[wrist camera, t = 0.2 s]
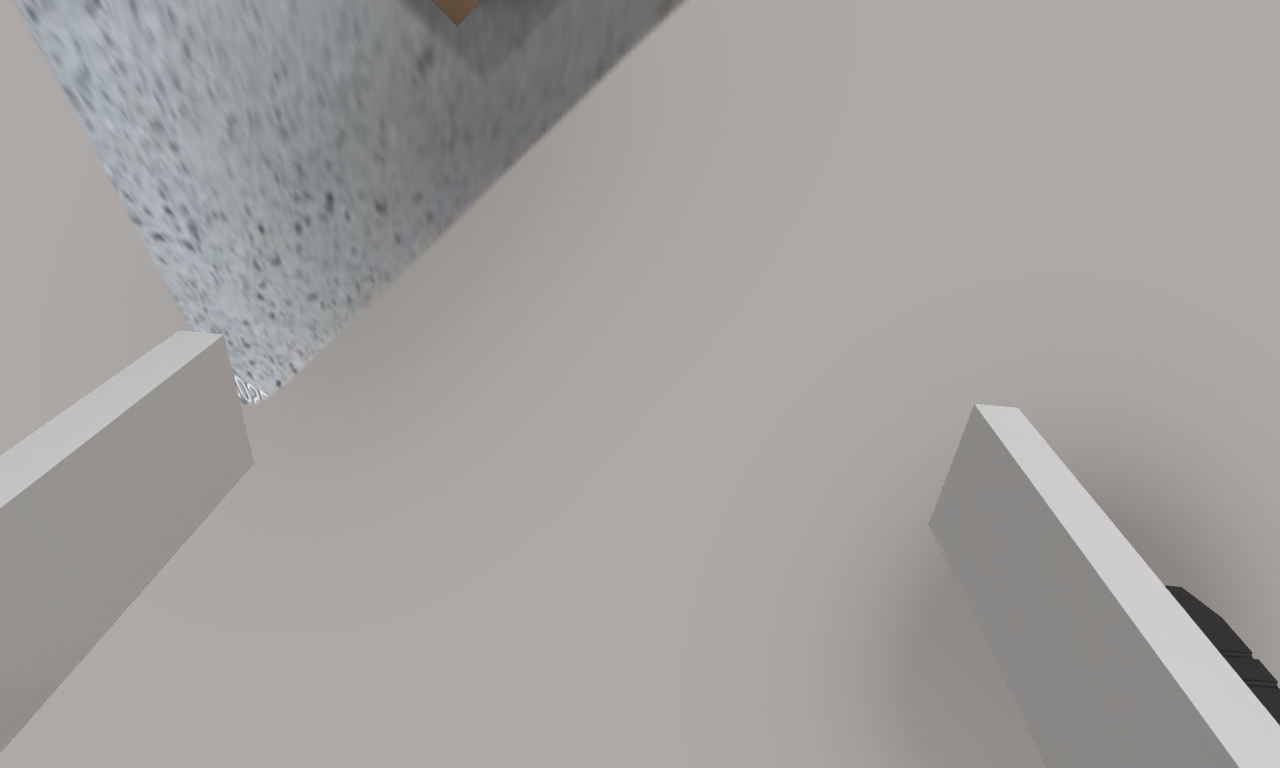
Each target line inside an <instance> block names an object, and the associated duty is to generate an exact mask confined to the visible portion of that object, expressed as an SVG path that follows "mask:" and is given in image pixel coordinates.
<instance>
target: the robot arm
mask: <svg viewBox="0 0 1280 768" xmlns="http://www.w3.org/2000/svg"><path fill="white" fill-rule="evenodd" d="M253 464H254V460H253V456H252V452H251V448H250V443H249V439H248V435H247V431H246V427H245V423H244V419H243V414H242V410H241V406H240V402H239V397H238V393H237V389H236V385H235V381H234V377H233V372H232V368H231V364H230V360H229V356H228V351H227V347H226V343H225V339H224V335H221V334H210V333H199V332H188V331H178V332H177V333H175V334H174V335H172V336H171V337H170V338H168V339H167V340H165V341H164V342H162V343H161V344H160V345H158V346H157V347H155V348H154V349H152V350H151V351H149V352H148V353H147V354H145V355H144V356H143V357H141V358H140V359H138V360H137V361H135V362H134V363H132V364H131V365H130V366H128V367H127V368H125V369H124V370H122V371H121V372H119V373H118V374H117V375H115V376H114V377H112V378H111V379H110V380H108V381H107V382H105V383H104V384H102V385H101V386H100V387H98V388H97V389H95V390H94V391H93V392H91V393H90V394H88V395H87V396H85V397H84V398H82V399H81V400H79V401H78V402H77V403H75V404H74V405H72V406H71V407H69V408H68V409H67V410H65V411H64V412H62V413H61V414H59V415H58V416H57V417H55V418H54V419H52V420H51V421H49V422H48V423H47V424H45V425H44V426H42V427H41V428H39V429H38V430H36V431H35V432H34V433H32V434H31V435H29V436H28V437H27V438H25V439H24V440H22V441H21V442H19V443H18V444H17V445H15V446H14V447H12V448H11V449H9V450H8V451H6V452H5V453H4V454H2V455H1V456H0V753H1V752H2V751H3V750H4V748H5V747H6V746H7V745H8V744H9V743H10V742H11V740H12V739H13V738H14V737H15V736H16V735H17V734H18V732H19V731H20V730H21V729H22V728H23V727H24V726H25V724H26V723H27V722H28V721H29V720H30V719H31V718H32V716H33V715H34V714H35V713H36V712H37V711H38V710H39V708H40V707H41V706H42V705H43V704H44V703H45V702H46V700H47V699H48V698H49V697H50V696H51V695H52V693H53V692H54V691H55V690H56V689H57V688H58V687H59V686H60V684H61V683H62V682H63V681H64V680H65V679H66V678H67V676H68V675H69V674H70V673H71V672H72V671H73V670H74V668H75V667H76V666H77V665H78V664H79V663H80V662H81V660H82V659H83V658H84V657H85V656H86V655H87V653H88V652H89V651H90V650H91V649H92V648H93V647H94V646H95V644H96V643H97V642H98V641H99V640H100V639H101V638H102V636H103V635H104V634H105V633H106V632H107V631H108V629H109V628H110V627H111V626H112V625H113V624H114V623H115V622H116V620H117V619H118V618H119V617H120V616H121V615H122V613H123V612H124V611H125V610H126V609H127V608H128V607H129V606H130V604H131V603H132V602H133V601H134V600H135V599H136V598H137V596H138V595H139V594H140V593H141V592H142V591H143V590H144V588H145V587H146V586H147V585H148V584H149V583H150V582H151V580H152V579H153V578H154V577H155V576H156V575H157V574H158V572H159V571H160V570H161V569H162V568H163V567H164V566H165V564H166V563H167V562H168V561H169V560H170V559H171V558H172V556H173V555H174V554H175V553H176V552H177V551H178V550H179V548H180V547H181V546H182V545H183V544H184V543H185V542H186V540H187V539H188V538H189V537H190V536H191V535H192V534H193V532H194V531H195V530H196V529H197V528H198V527H199V526H200V524H201V523H202V522H203V521H204V520H205V519H206V518H207V516H208V515H209V514H210V513H211V512H212V511H213V510H214V508H215V507H216V506H217V505H218V504H219V503H220V501H221V500H222V499H223V498H224V497H225V496H226V495H227V494H228V492H229V491H230V490H231V489H232V488H233V487H234V486H235V484H236V483H237V482H238V481H239V480H240V479H241V478H242V476H243V475H244V474H245V473H246V472H247V471H248V470H249V468H250V467H251V466H252V465H253ZM929 526H930V528H931V530H932V532H933V534H934V536H935V539H936V541H937V543H938V545H939V547H940V549H941V551H942V553H943V555H944V557H945V559H946V561H947V563H948V565H949V568H950V570H951V572H952V574H953V576H954V578H955V580H956V582H957V584H958V586H959V588H960V590H961V593H962V594H963V597H964V599H965V601H966V603H967V605H968V607H969V609H970V611H971V613H972V616H973V617H974V620H975V622H976V624H977V626H978V628H979V630H980V632H981V634H982V636H983V638H984V640H985V643H986V645H987V647H988V649H989V651H990V653H991V655H992V657H993V659H994V661H995V663H996V666H997V668H998V670H999V672H1000V674H1001V676H1002V678H1003V680H1004V682H1005V684H1006V686H1007V688H1008V691H1009V692H1010V695H1011V697H1012V699H1013V701H1014V703H1015V705H1016V707H1017V709H1018V711H1019V713H1020V716H1021V718H1022V720H1023V722H1024V724H1025V726H1026V728H1027V730H1028V732H1029V734H1030V736H1031V738H1032V741H1033V742H1034V745H1035V747H1036V749H1037V751H1038V753H1039V755H1040V757H1041V759H1042V761H1043V763H1044V765H1045V767H1046V768H1280V689H1279V688H1278V686H1277V683H1278V681H1277V680H1276V679H1275V678H1274V677H1273V676H1272V675H1271V674H1270V672H1269V671H1268V670H1267V669H1266V668H1265V667H1264V665H1263V664H1262V663H1261V662H1260V661H1259V660H1258V659H1253V658H1252V652H1251V651H1250V649H1249V648H1248V647H1247V646H1246V645H1245V644H1244V643H1243V641H1242V640H1241V639H1240V638H1239V637H1238V636H1237V635H1236V633H1235V632H1234V631H1233V630H1232V629H1231V628H1230V626H1229V625H1228V624H1227V623H1226V622H1225V621H1224V620H1223V619H1222V617H1220V616H1219V615H1218V614H1216V613H1215V612H1214V611H1212V610H1211V609H1210V608H1208V607H1207V606H1206V605H1204V604H1203V603H1202V602H1200V601H1199V600H1198V599H1196V598H1195V597H1194V596H1193V595H1191V594H1190V593H1189V592H1187V591H1186V590H1185V589H1183V588H1182V587H1175V586H1164V585H1163V583H1162V582H1161V581H1160V580H1159V579H1158V577H1157V576H1156V575H1155V574H1154V572H1153V571H1152V570H1151V569H1150V568H1149V566H1148V565H1147V564H1146V563H1145V562H1144V560H1143V559H1142V558H1141V557H1140V556H1139V554H1138V553H1137V552H1136V551H1135V549H1134V548H1133V547H1132V546H1131V545H1130V543H1129V542H1128V541H1127V540H1126V539H1125V537H1124V536H1123V535H1122V534H1121V532H1120V531H1119V530H1118V529H1117V528H1116V526H1115V525H1114V524H1113V523H1112V522H1111V520H1110V519H1109V518H1108V517H1107V516H1106V514H1105V513H1104V512H1103V511H1102V509H1101V508H1100V507H1099V506H1098V505H1097V504H1096V502H1095V501H1094V500H1093V499H1092V497H1091V496H1090V495H1089V494H1088V493H1087V491H1086V490H1085V489H1084V488H1083V487H1082V485H1081V484H1080V483H1079V482H1078V481H1077V479H1076V478H1075V477H1074V475H1073V474H1072V473H1071V472H1070V471H1069V470H1068V468H1067V467H1066V466H1065V465H1064V463H1063V462H1062V461H1061V460H1060V459H1059V457H1058V456H1057V455H1056V454H1055V453H1054V451H1053V450H1052V449H1051V448H1050V447H1049V445H1048V444H1047V443H1046V442H1045V440H1044V439H1043V438H1042V437H1041V435H1040V434H1039V433H1038V432H1037V431H1036V429H1035V428H1034V427H1033V426H1032V425H1031V423H1030V422H1029V421H1028V420H1027V419H1026V418H1025V416H1024V415H1023V414H1022V412H1021V411H1020V410H1019V409H1018V408H1012V407H1001V406H990V405H979V404H974V407H973V409H972V412H971V414H970V417H969V420H968V422H967V425H966V428H965V430H964V433H963V435H962V438H961V441H960V443H959V446H958V449H957V451H956V454H955V456H954V459H953V462H952V464H951V467H950V470H949V472H948V475H947V477H946V480H945V483H944V485H943V488H942V491H941V493H940V496H939V499H938V502H937V504H936V506H935V509H934V512H933V514H932V517H931V520H930V522H929Z"/></svg>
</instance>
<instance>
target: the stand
mask: <svg viewBox="0 0 1280 768" xmlns="http://www.w3.org/2000/svg"><path fill="white" fill-rule="evenodd" d="M432 1H433V2H434V3H435V4H436V5H437V6H438V7H439V8H440V9H441V10H442V11H443V12H444V13H445V14H446V15H447V16H448V17H449V18H450V19H451V20H452V21H453V22H454V23H455V24H456V25H457V26H458V25H459V24H460V23H461V22H462V20H463V19H464V18H465V17H466V16H467V15H468V14H469V13H470V12H471V10H472V9H473V8H474V7H475V6H476V5H477V4H478V3H479V1H480V0H432Z"/></svg>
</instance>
